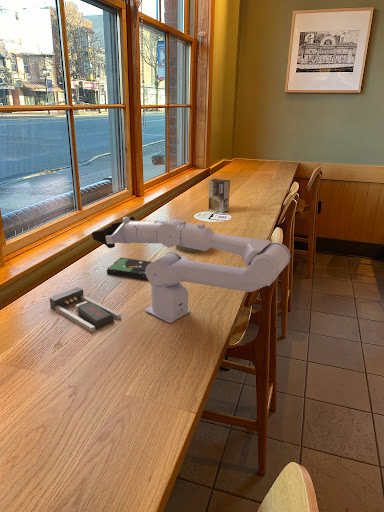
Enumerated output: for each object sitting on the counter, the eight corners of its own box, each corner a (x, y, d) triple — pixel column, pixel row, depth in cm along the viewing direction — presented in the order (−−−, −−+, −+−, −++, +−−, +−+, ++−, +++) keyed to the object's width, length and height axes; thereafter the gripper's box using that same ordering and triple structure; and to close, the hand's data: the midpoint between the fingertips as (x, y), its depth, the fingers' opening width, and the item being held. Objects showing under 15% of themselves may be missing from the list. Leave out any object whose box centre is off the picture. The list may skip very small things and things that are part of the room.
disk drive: (160, 270, 132) (120, 264, 135) (160, 262, 131) (120, 256, 134) (148, 282, 122) (106, 275, 126) (148, 274, 121) (106, 268, 125)
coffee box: (229, 211, 203) (230, 180, 197) (223, 213, 198) (224, 182, 192) (213, 208, 207) (215, 178, 202) (207, 211, 202) (208, 180, 196)
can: (202, 254, 144) (203, 237, 142) (171, 251, 146) (171, 234, 144) (208, 244, 155) (208, 227, 153) (178, 241, 157) (178, 225, 155)
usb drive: (96, 331, 96) (95, 321, 95) (72, 312, 104) (71, 303, 103) (114, 323, 99) (113, 314, 98) (90, 306, 107) (89, 297, 106)
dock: (120, 318, 101) (120, 308, 100) (91, 332, 94) (90, 321, 93) (79, 296, 112) (78, 286, 110) (50, 307, 105) (49, 297, 104)
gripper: (155, 210, 104) (116, 211, 111) (122, 224, 92) (81, 224, 99) (160, 235, 106) (121, 234, 113) (128, 252, 95) (87, 250, 101)
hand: (102, 231), depth 106 cm, fingers open, 7 cm apart
